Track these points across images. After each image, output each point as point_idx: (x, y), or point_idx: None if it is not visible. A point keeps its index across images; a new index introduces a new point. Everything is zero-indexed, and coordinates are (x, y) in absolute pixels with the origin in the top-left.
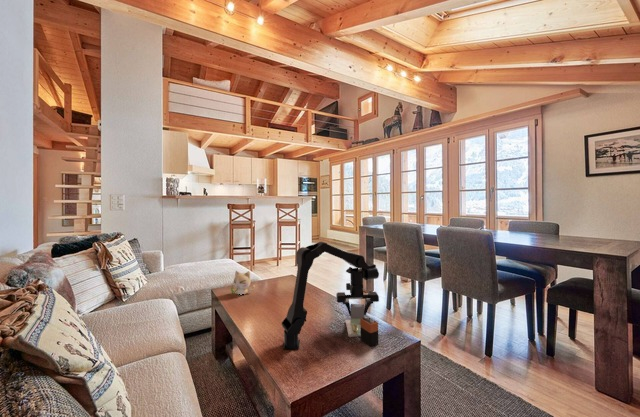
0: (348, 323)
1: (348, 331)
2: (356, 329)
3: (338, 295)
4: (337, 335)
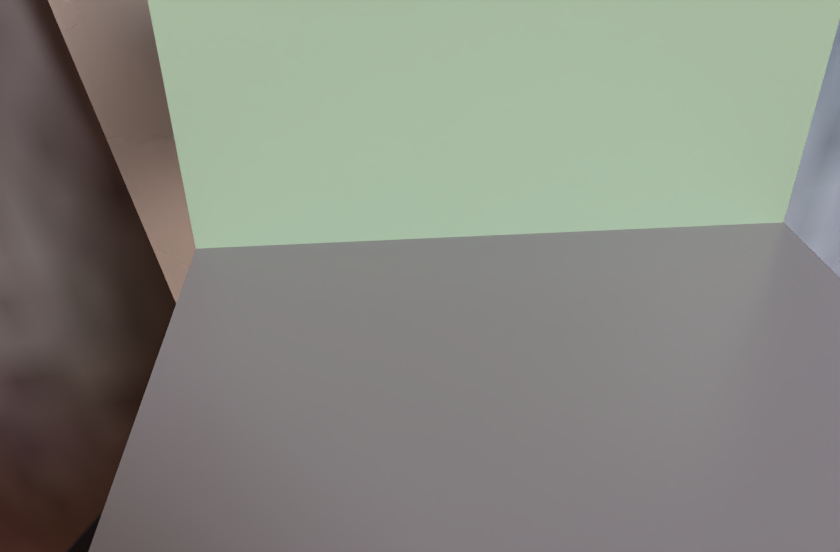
0: (148, 58)
1: None
2: None
3: None
4: (50, 485)
